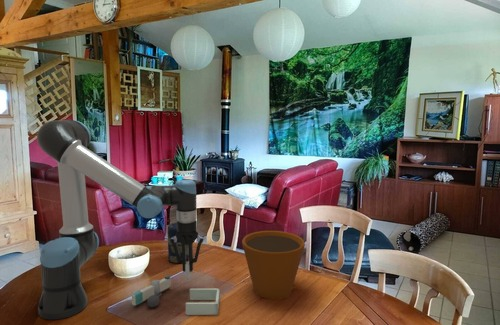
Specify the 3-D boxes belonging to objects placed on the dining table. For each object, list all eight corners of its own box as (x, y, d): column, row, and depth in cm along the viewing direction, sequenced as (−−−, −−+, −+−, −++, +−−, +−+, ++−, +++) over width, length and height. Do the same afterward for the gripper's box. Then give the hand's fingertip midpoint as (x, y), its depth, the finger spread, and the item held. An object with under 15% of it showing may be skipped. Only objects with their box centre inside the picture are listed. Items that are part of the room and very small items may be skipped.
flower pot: (228, 290, 137) (229, 240, 135) (268, 271, 155) (269, 226, 152) (277, 314, 121) (278, 258, 119) (315, 289, 139) (317, 240, 136)
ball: (146, 309, 123) (145, 298, 123) (149, 303, 127) (148, 293, 127) (157, 309, 123) (157, 298, 123) (160, 303, 127) (160, 292, 127)
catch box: (185, 314, 120) (185, 303, 120) (190, 298, 131) (189, 288, 130) (217, 314, 120) (217, 303, 120) (219, 298, 131) (219, 288, 130)
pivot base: (148, 298, 130) (148, 297, 130) (151, 292, 135) (151, 291, 135) (160, 298, 130) (160, 296, 130) (162, 292, 135) (162, 291, 135)
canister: (186, 264, 161) (186, 225, 158) (165, 264, 161) (165, 225, 158) (190, 256, 170) (190, 219, 168) (170, 255, 170) (170, 219, 168)
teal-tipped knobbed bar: (130, 303, 125) (130, 291, 124) (166, 284, 139) (166, 273, 138) (136, 306, 123) (136, 293, 123) (172, 287, 137) (172, 275, 137)
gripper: (167, 223, 131) (169, 283, 135) (202, 223, 132) (203, 283, 135) (171, 217, 139) (173, 274, 142) (204, 217, 139) (205, 274, 142)
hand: (188, 279), depth 138 cm, fingers closed
